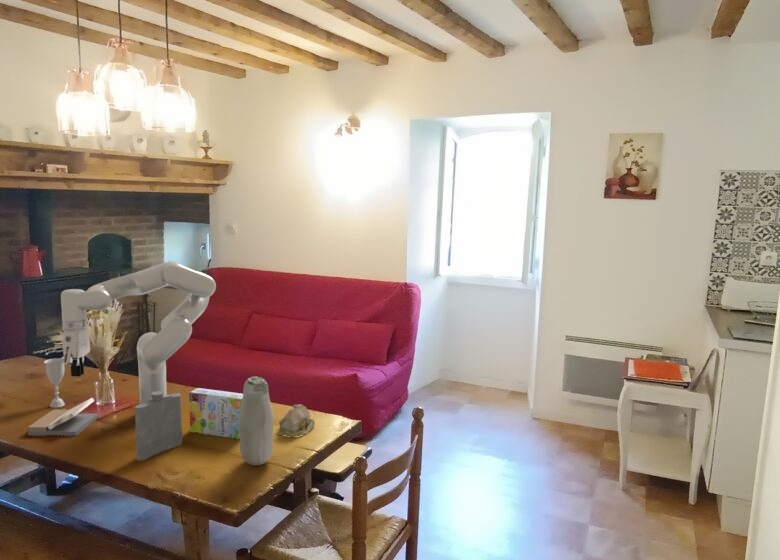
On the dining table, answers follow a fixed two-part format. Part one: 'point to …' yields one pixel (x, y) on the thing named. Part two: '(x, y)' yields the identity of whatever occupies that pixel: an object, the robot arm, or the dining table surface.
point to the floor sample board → (65, 428)
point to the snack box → (215, 412)
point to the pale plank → (70, 413)
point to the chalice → (55, 377)
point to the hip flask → (158, 424)
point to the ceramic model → (296, 422)
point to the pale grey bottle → (256, 422)
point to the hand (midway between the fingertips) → (77, 375)
